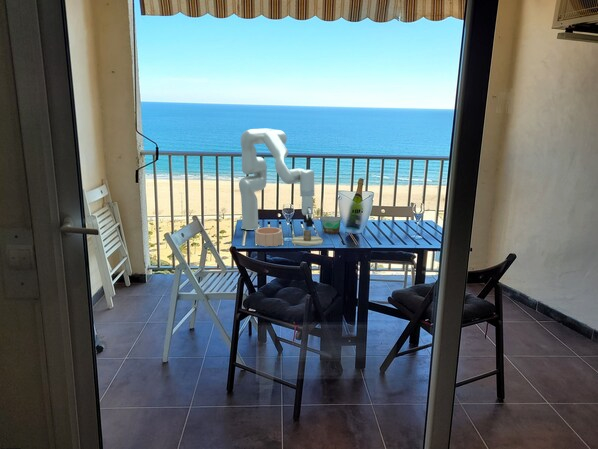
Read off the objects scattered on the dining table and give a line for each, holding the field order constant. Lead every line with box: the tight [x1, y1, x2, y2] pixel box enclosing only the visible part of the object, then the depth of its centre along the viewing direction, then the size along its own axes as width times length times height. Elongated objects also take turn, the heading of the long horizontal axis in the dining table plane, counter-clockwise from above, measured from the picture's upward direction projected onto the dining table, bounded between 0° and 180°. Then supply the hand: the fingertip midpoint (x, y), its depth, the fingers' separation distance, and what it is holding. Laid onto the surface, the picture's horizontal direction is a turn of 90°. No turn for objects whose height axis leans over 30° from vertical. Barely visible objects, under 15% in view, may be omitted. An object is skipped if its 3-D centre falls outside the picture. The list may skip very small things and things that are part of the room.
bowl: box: [254, 226, 283, 247], centre depth 237 cm, size 14×14×7 cm
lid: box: [291, 229, 324, 247], centre depth 240 cm, size 17×17×6 cm
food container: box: [320, 215, 343, 235], centre depth 254 cm, size 12×6×10 cm, turn 82°
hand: (308, 224), depth 237 cm, fingers open, 9 cm apart
